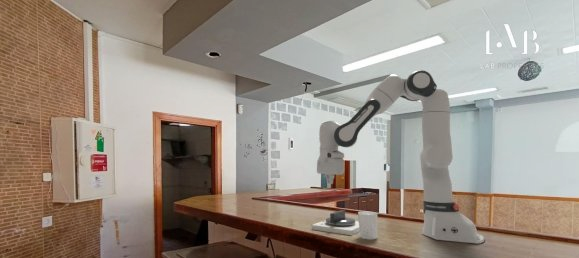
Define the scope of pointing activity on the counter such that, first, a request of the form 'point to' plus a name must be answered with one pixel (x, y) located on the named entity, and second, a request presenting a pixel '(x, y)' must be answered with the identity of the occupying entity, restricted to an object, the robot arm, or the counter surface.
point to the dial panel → (337, 228)
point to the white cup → (368, 224)
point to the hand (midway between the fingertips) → (330, 183)
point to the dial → (339, 219)
